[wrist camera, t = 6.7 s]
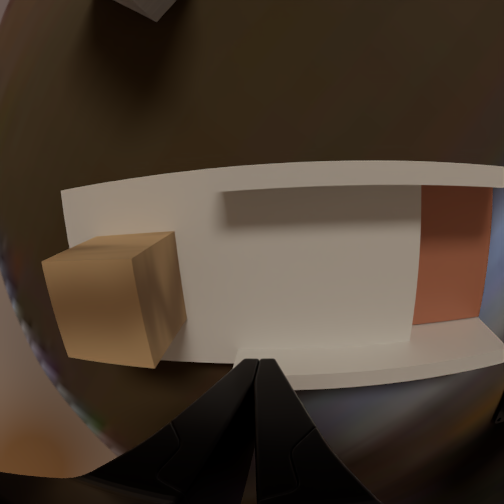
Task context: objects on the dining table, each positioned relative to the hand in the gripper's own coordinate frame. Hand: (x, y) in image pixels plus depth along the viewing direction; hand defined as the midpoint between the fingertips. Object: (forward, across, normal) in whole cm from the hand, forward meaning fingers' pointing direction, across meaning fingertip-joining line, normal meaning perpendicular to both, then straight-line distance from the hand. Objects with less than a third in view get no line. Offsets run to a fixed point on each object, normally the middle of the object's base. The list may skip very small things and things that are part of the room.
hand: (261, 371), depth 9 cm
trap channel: (+10, -1, 0) cm, 10 cm away
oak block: (+8, +8, 0) cm, 11 cm away
